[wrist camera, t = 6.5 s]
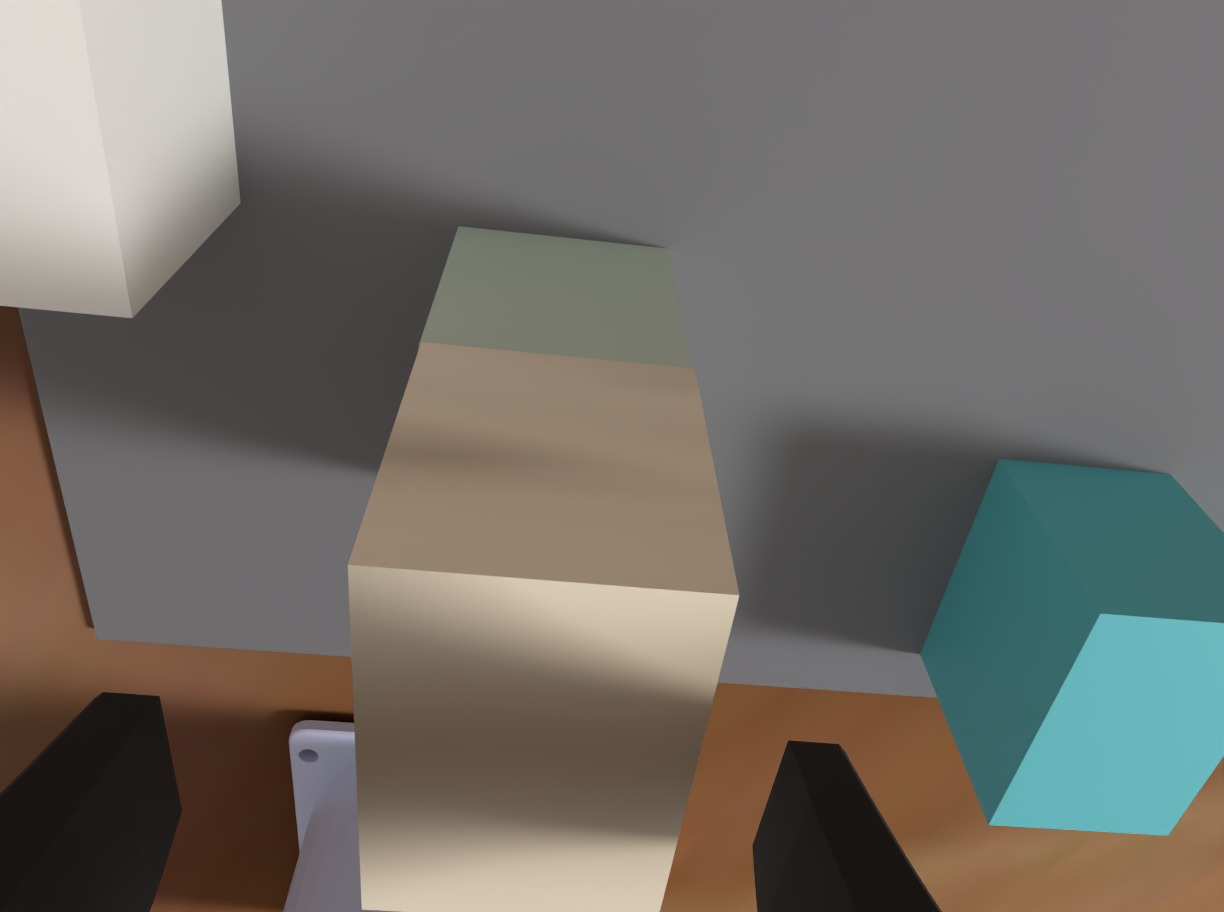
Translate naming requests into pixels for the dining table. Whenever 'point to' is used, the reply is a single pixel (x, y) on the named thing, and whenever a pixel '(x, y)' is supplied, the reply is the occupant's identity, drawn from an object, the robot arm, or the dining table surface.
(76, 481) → the mat
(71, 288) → the white block
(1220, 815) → the dining table surface
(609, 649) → the maple block
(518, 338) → the sage block
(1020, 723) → the teal block
